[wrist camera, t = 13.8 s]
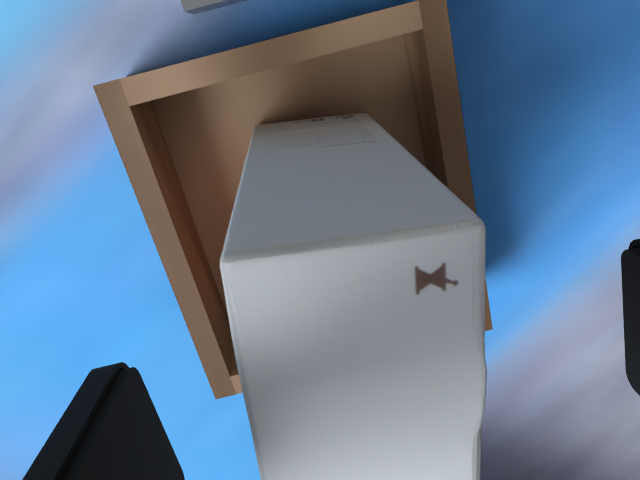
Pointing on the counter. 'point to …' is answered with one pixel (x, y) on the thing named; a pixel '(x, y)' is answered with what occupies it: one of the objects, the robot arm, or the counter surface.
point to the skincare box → (355, 307)
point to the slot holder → (205, 5)
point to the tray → (273, 107)
